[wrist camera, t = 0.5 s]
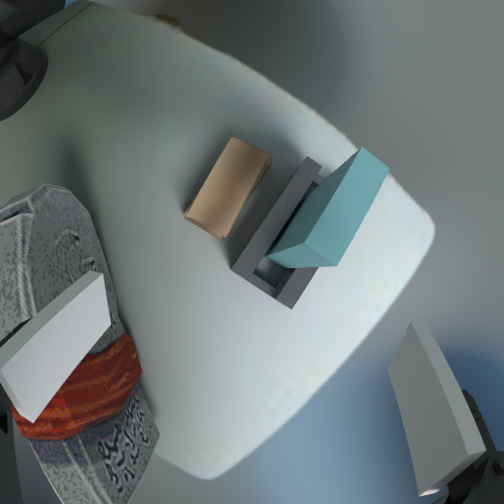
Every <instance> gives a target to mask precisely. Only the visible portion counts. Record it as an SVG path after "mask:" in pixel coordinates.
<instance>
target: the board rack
mask: <svg viewBox="0 0 504 504" xmlns="http://www.w3.org/2000/svg"><path fill="white" fill-rule="evenodd" d="M321 167H322V166H321V165H319V164H318V163H317V162H315V161H314V160H312V159H311V158H309V157H308V156H307V157H306V159H305V160H304V162H303V163H302V164H301V166H300V167H299V168H298V170H297V171H296V173H295V174H294V176H293V177H292V179H291V180H290V182H289V183H288V185H287V186H286V188H285V189H284V191H283V192H282V193H281V195H280V196H279V198H278V199H277V201H276V202H275V204H274V205H273V207H272V208H271V210H270V211H269V213H268V214H267V216H266V217H265V219H264V220H263V222H262V223H261V225H260V226H259V228H258V229H257V231H256V232H255V234H254V235H253V237H252V238H251V240H250V241H249V243H248V244H247V246H246V247H245V249H244V250H243V252H242V253H241V254H240V256H239V257H238V259H237V260H236V262H235V263H234V265H233V266H232V268H231V269H230V270H232V271H233V272H235V273H236V274H238V275H239V276H241V277H242V278H244V279H245V280H247V281H248V282H250V283H251V284H253V285H254V286H256V287H257V288H259V289H260V290H262V291H263V292H265V293H266V294H268V295H269V296H271V297H273V298H274V299H276V300H277V301H279V302H280V303H282V304H283V305H285V306H287V307H288V308H290V309H292V308H293V307H294V305H295V304H296V302H297V301H298V299H299V298H300V296H301V295H302V293H303V291H304V290H305V288H306V287H307V285H308V284H309V282H310V280H311V279H312V277H313V276H314V274H315V272H316V271H317V269H318V267H305V268H288V269H287V271H286V272H285V274H284V276H283V277H282V279H281V280H280V282H279V283H278V285H277V286H276V288H274V287H273V286H271V285H270V284H268V283H266V282H265V281H263V280H262V279H260V278H259V277H257V276H256V275H254V274H253V272H254V270H255V269H256V267H257V266H258V264H259V263H260V261H261V260H262V258H263V257H264V255H265V254H266V252H267V251H268V249H269V247H270V246H271V244H272V243H273V241H274V240H275V238H276V237H277V235H278V234H279V232H280V231H281V229H282V228H283V226H284V225H285V223H286V222H287V220H288V218H289V217H290V215H291V214H292V212H293V211H294V209H295V208H296V206H297V205H298V203H299V202H300V200H301V198H302V197H303V195H304V194H305V192H306V191H307V189H308V188H309V186H310V185H312V186H313V187H315V188H317V187H318V186H319V185H320V184H321V183H322V182H323V181H324V180H325V179H323V178H322V177H320V176H319V175H317V174H318V172H319V171H320V169H321Z"/></svg>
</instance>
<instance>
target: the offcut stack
mask: <svg viewBox="0 0 504 504" xmlns="http://www.w3.org/2000/svg"><path fill="white" fill-rule="evenodd" d="M272 160H273V159H271V158H269V154H267V153H265V152H263V151H261V150H259V149H257V148H255V147H253V146H251V145H249V144H247V143H245V142H243V141H241V140H239V139H237V138H234V137H231V138H230V140H229V142H228V143H227V145H226V147H225V148H224V150H223V152H222V153H221V155H220V157H219V159H218V160H217V162H216V164H215V165H214V167H213V169H212V171H211V172H210V174H209V176H208V178H207V179H206V181H205V183H204V184H203V185H202V187H201V188H200V190H199V191H198V193H197V194H196V196H195V197H194V199H193V200H192V202H191V203H190V205H189V206H188V208H187V209H186V211H185V213H184V214H183V216H184V218H185V219H187V220H189V221H190V222H192V223H193V224H195V225H197V226H198V227H200V228H201V229H203V230H205V231H206V232H208V233H209V234H211V235H213V236H214V237H216V238H217V239H219V240H222V239H223V237H226V238H227V236H228V234H229V232H230V230H231V228H232V226H233V224H234V222H235V220H236V218H237V216H238V214H239V212H240V211H241V209H242V207H243V206H244V204H245V203H246V201H247V200H248V198H249V196H250V195H251V193H252V192H253V190H254V189H255V187H256V186H257V184H258V183H259V181H260V180H261V178H262V177H263V175H264V173H265V172H266V170H267V169H268V167H269V166H270V164H271V162H272Z"/></svg>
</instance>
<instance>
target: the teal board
mask: <svg viewBox="0 0 504 504" xmlns="http://www.w3.org/2000/svg"><path fill="white" fill-rule="evenodd" d="M388 171H389V168H388V167H387V166H385V165H384V164H383V163H382V162H381V161H379V160H378V159H377V158H376V157H374V156H373V155H372V154H370V153H369V152H368V151H367V150H365V149H364V148H363V147H361V148H360V149H359V150H358V151H357V152H356V153H355V154H353V155H352V156H351V157H350V158H349V159H348V160H347V161H346V162H345V163H343V164H342V165H341V166H340V167H339V168H338V169H337V170H336V171H334V172H333V173H332V174H331V175H330V176H329V177H328V178H327V179H326V180H324V181H323V182H322V183H321V184H320V185H319V186H318V187H317V188H315V189H314V190H313V191H312V192H311V193H310V194H309V195H308V196H307V197H305V198H304V199H303V200H302V201H301V202H300V204H299V206H298V207H297V209H296V210H295V212H294V213H293V215H292V216H291V218H290V219H289V221H288V223H287V224H286V226H285V227H284V229H283V230H282V232H281V233H280V235H279V236H278V238H277V239H276V241H275V242H274V244H273V245H272V247H271V249H270V250H269V252H268V253H267V255H266V256H265V257H267V258H268V259H270V260H271V261H273V262H274V263H276V264H277V265H279V266H280V267H282V268H305V267H328V266H337V265H338V263H339V261H340V260H341V258H342V256H343V255H344V253H345V251H346V250H347V248H348V246H349V244H350V243H351V241H352V239H353V237H354V235H355V234H356V232H357V230H358V228H359V227H360V225H361V223H362V221H363V219H364V217H365V216H366V214H367V212H368V210H369V208H370V206H371V204H372V203H373V201H374V199H375V197H376V195H377V193H378V191H379V189H380V187H381V185H382V183H383V181H384V179H385V177H386V175H387V173H388Z"/></svg>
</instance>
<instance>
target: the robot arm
mask: <svg viewBox="0 0 504 504" xmlns="http://www.w3.org/2000/svg"><path fill="white" fill-rule="evenodd" d="M77 1H79V0H0V121H1V120H4V119H6V118H8V117H10V116H11V115H13V114H14V113H15V112H17V111H18V110H19V109H20V108H21V107H22V106H23V105H24V104H25V103H26V102H27V101H28V100H29V99H30V97H31V96H32V95H33V94H34V92H35V91H36V89H37V88H38V86H39V85H40V83H41V81H42V79H43V77H44V75H45V72H46V69H47V58H46V56H45V55H44V53H43V52H42V51H41V50H40V49H39V48H38V47H36V46H34V45H32V44H30V43H27V42H25V41H23V40H21V39H19V38H18V36H20V35H21V34H23V33H24V32H26V31H27V30H29V29H30V28H32V27H33V26H35V25H37V24H38V23H40V22H42V21H43V20H45V19H47V18H48V17H50V16H52V15H54V14H55V13H57V12H59V11H61V10H65V9H66V8H67V7H68V6H70V5H71V4H73V3H75V2H77ZM110 325H111V321H110V315H109V309H108V303H107V297H106V291H105V284H104V276H103V273H99V272H95V271H91V270H90V271H88V272H87V273H86V274H85V275H83V276H82V277H81V278H80V279H78V280H77V281H76V282H75V283H73V284H72V285H71V286H70V287H68V288H67V289H66V290H65V291H64V292H62V293H61V294H60V295H59V296H58V297H56V298H55V299H54V300H53V301H52V302H50V303H49V304H48V305H47V306H46V307H45V308H43V309H42V310H41V311H40V312H39V313H38V314H37V315H35V316H34V317H33V318H30V319H28V320H26V321H24V322H22V323H20V324H19V325H18V326H16V327H15V328H14V329H13V330H12V332H10V333H9V334H8V335H7V336H6V338H3V339H2V340H1V341H0V504H24V502H23V498H22V493H21V488H20V482H19V477H18V470H17V464H16V455H15V446H14V434H13V415H12V411H11V410H10V408H11V406H12V405H14V406H15V408H16V410H17V411H18V413H19V414H20V415H21V416H23V417H24V418H26V419H27V420H29V421H31V422H32V423H34V422H35V420H36V419H37V417H38V416H39V415H40V413H41V412H42V411H43V409H44V408H45V407H46V405H47V404H48V403H49V401H50V400H51V399H52V397H53V396H54V395H55V393H56V392H57V391H58V389H59V388H60V387H61V385H62V384H63V383H64V382H65V380H66V379H67V378H68V376H69V375H70V374H71V373H72V371H73V370H74V369H75V368H76V366H77V365H78V364H79V363H80V361H81V360H82V359H83V358H84V356H85V355H86V354H87V353H88V351H89V350H90V349H91V348H92V347H93V345H94V344H95V343H96V342H97V340H98V339H99V338H100V337H101V336H102V334H103V333H104V332H105V331H106V330H107V329H108V327H109V326H110ZM388 371H389V375H390V378H391V381H392V385H393V388H394V391H395V395H396V398H397V401H398V405H399V409H400V413H401V416H402V420H403V424H404V428H405V432H406V435H407V440H408V444H409V448H410V453H411V457H412V462H413V467H414V471H415V476H416V481H417V486H418V492H419V496H422V495H427V494H431V493H436V492H438V491H439V490H440V489H442V488H443V487H445V486H446V485H447V486H448V491H447V492H446V493H444V494H443V495H442V496H440V497H439V498H437V499H436V500H435V501H434V502H433V503H432V504H436V503H438V502H439V501H440V503H439V504H504V452H502V451H497V450H496V449H495V446H494V444H493V441H492V439H491V436H490V434H489V431H488V429H487V427H486V424H485V422H484V420H482V415H481V413H480V412H479V411H478V410H479V409H478V406H477V404H476V402H475V400H474V398H473V397H472V396H471V395H470V394H469V393H468V392H467V391H466V390H461V389H460V387H459V385H458V383H457V381H456V379H455V377H454V375H453V373H452V371H451V369H450V367H449V365H448V363H447V361H446V359H445V358H444V356H443V354H442V352H441V350H440V348H439V346H438V344H437V343H436V341H435V339H434V337H433V335H432V334H431V332H430V330H429V328H428V327H427V325H426V323H425V322H412V321H411V322H410V324H409V326H408V328H407V331H406V333H405V335H404V337H403V339H402V342H401V344H400V346H399V348H398V350H397V352H396V354H395V356H394V358H393V360H392V362H391V364H390V366H389V368H388Z"/></svg>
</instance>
